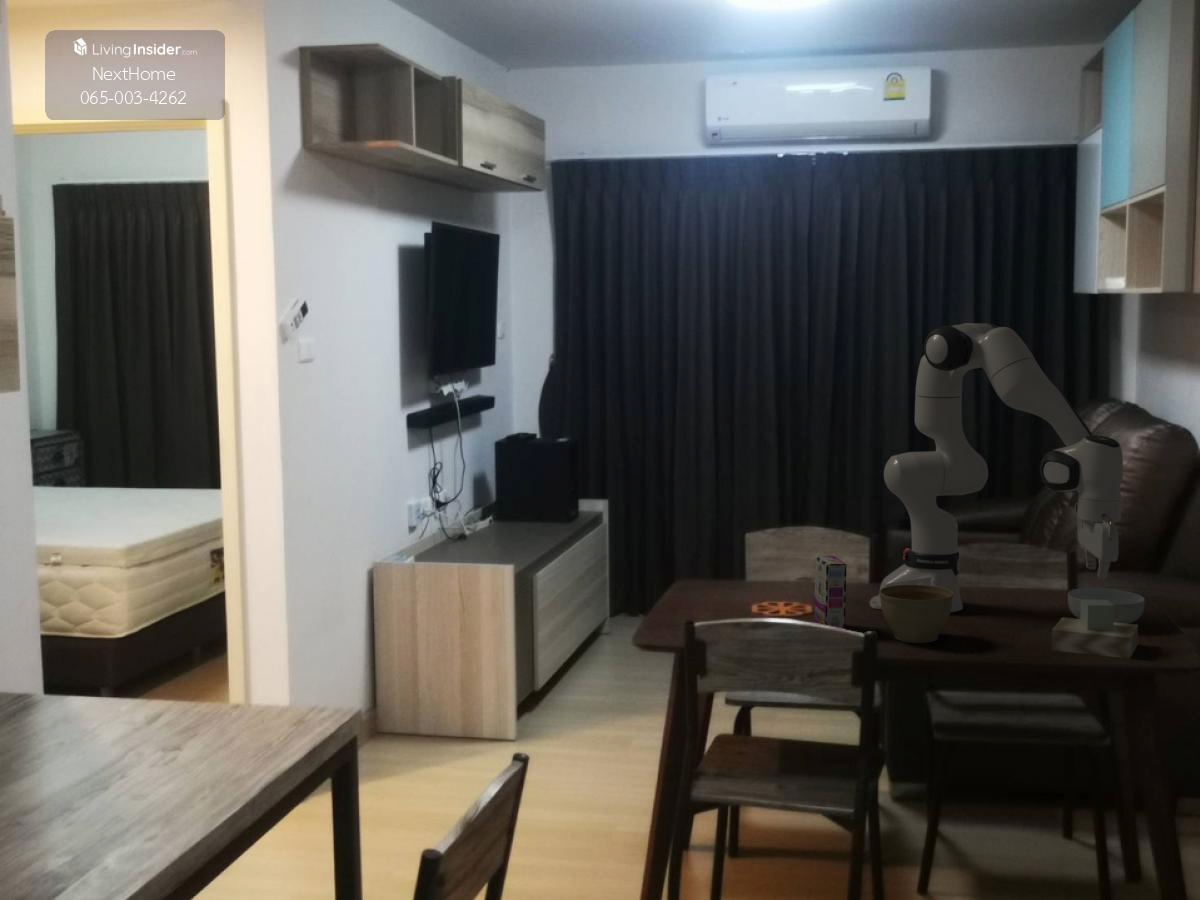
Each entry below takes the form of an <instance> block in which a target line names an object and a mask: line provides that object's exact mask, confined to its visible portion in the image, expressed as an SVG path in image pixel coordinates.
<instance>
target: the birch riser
mask: <svg viewBox="0 0 1200 900" xmlns="http://www.w3.org/2000/svg"><path fill="white" fill-rule="evenodd" d="M1138 631H1139V624H1134V623H1129V624H1126V623H1116V622H1114V627H1113V630H1087V629H1086V628H1084V627H1083V626H1082V625H1081V624H1080V619H1079V618H1073V617H1065V616H1064V617H1063V616H1062V617H1061V618H1060V620H1059V621H1057V623H1056V625H1054V627H1053V628H1052V629H1051V651H1056V652H1064V653H1073V654H1082V655H1091V656H1100V657H1108V658H1109V657H1110V658H1118V659H1119V658H1120V659H1127V660H1131V658H1132V656H1133V654H1134V652H1135V651H1136V648H1137V647H1138V639H1139V637H1138V636H1139V633H1138Z"/></svg>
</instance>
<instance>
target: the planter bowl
mask: <svg viewBox="0 0 1200 900" xmlns="http://www.w3.org/2000/svg"><path fill="white" fill-rule="evenodd" d="M879 591H880V597H881V607H882V609H881V612H882V615H883V617H884V620H885V621H886V623H887V625H888V627H889V628H890V630H892V633H893V636H894V638H895V639H896V640H898V641H899V642H904V643H909V644H927V643H934V642H935V641H937V640H938V638H939V634H940V632H942V630H943V629H944V628H945V626H946V624H947V622H948V620H949V617H950V615H951V613H952V612H951V607H952V599H953V592H952V591H951V590H948V589H946V588H942V587H937V586H930V585H894V586H888V587H884V588H882V589H881V590H880V589H879Z"/></svg>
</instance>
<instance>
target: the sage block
mask: <svg viewBox="0 0 1200 900" xmlns="http://www.w3.org/2000/svg"><path fill="white" fill-rule="evenodd" d="M1080 624H1081V625H1082V626H1083V627H1084V628H1086V629H1087V630H1113V627H1114V605H1113V604H1112V603H1110V602H1109V601H1108V600H1081V613H1080Z"/></svg>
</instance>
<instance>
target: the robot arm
mask: <svg viewBox="0 0 1200 900" xmlns="http://www.w3.org/2000/svg"><path fill="white" fill-rule="evenodd" d="M924 340H925V341H924V344H923V353H924V355H922V357H921V358H920V361H919V365H918V370H917V373H916V374H917V376H916V382H915V383H916V384H915V395H914V396H915V400H914V426H915V427H916V429H917V430H918V431H919V432H920V433H921V434H923V435H925V436H927V437H928V438H930V439H933V440H934V444H935V450H933V451H909V452H904V453H900V454H899V453H898V454H895V455H892V456H890V458H889V459H888V460H887V462H886V463H885V466H884V469H883V479H884V483H885V485H886V487H887V489H888V490H889V491H890V492H891V493H892V494H894V495H895V496H896V497H897V498H898V499H899V500H900V501H901V502H902V503H903V505H904V507H905V508H906V511H907V514H908V516H909V519H910V530H911V531H910V533H911V548H909V547H908V548H907V547H906V548H905V549H904V550H903V552H902V553H903V554H902V563H903V564H902V565H900V566H899V567H897V568H896V569H895V570H894V571H892V572H891V573H889V574H888V575H886V576H885V577H884V578H883V579H882V581H881V584H880V588H879V593H878V594H877V595H874V596H873V597H871V599H870V600H869V601H870V602H869V606H870V607H871V608H872V609H877V610H882V607H881V597H880V590H881V589H882V588H884V587H888V586H894V585H930V586H937V587H942V588H946V589H948V590H951V591H952V592H953V599H952V607H951V612H950V613H954V612H959V611H962V610H963V608H964V605H963V602H962V598H961V593H960V586H959V572H960V561H961V560H960V559H961V558H960V552H959V550H958V540H959V539H958V538H959V537H958V535H959V534H958V533H959V532H958V531H959V530H958V529H959V528H958V527H959V524H958V521H957V519H956V518H955V516H954V515H952V514H951V513H950V512H948V511H946V510H944V509H942V508H940V507H939V506H938V504H937V497H938V496H964V495H968V494H972V493H976V492H980V491H981V490H983V488H984V487H985V485H986V483H987V481H988V478H989V468H988V463H987V462H986V460H985V459H984V457H983V456H982V455H981V454H980V453H978V452H977V451H976V450H975V449H974V448H973V447H972V446H971V445H970V443H969V442H968V440H967V437H966V436H965V435H966V434H965V433H964V428H963V412H962V409H963V407H962V406H963V405H962V401H963V380H964V377H965V374H967V372H968V371H971V370H972V371H974V372H977V371H980V370H984V372H985V374H986V376H987V378H988V380H989V382H990V384H991V386H992V387H993V390H994V391H995V393H996V394H997V396H998V397H999V398H1000V400H1001V401H1002V402H1003V404H1005V405H1006V406H1008V407H1010V408H1011V409H1014V410H1018V411H1022V412H1025V413H1029V414H1032V415H1035V416H1037V417H1039V418H1042V419H1043V420H1044V421H1046V422H1047V423H1049V425H1051V427H1052V428H1053V430H1055V432H1056V435H1058V437H1059V438H1060V439H1061V441H1062V443H1063V444H1064V445H1065V446H1063V447H1059V448H1056V449H1053V450H1049V451H1048V452H1047V453H1046V452H1045V454H1044V456H1042V459H1041V461H1040V465H1039V474H1040V477H1041V480H1042V482H1043V484H1044V485H1045V486H1046V487H1047V488H1048V489H1049V490H1051V491H1055V492H1061V493H1063V492H1065V493H1066V492H1071V491H1072V492H1074V491H1077V493H1078V494H1077V495H1078V496H1077V502H1075V504H1074V512H1075V514H1077V515H1076V523H1077V524H1076V528H1077V539H1078V544H1079V545H1080V546H1082V547H1083V548H1084V555H1085V561H1086V563H1085V564H1086V565H1085V566H1086V569H1088V570H1090V571H1091V570H1096V569H1097V561H1096V559H1097V560H1098V569H1097V571H1096V572H1097V574H1096V576H1097V578H1099V579H1100V580H1107V579H1108V577H1109V576H1108V573H1109V569H1110V566H1111V562H1113V563H1115V562H1117V561H1118V559H1119V542H1120V541H1119V540H1120V539H1119V530H1118V526H1116V525H1115V522H1120V521H1121V520H1122V519H1121V518H1122V501H1123V499H1122V498H1123V497H1122V493H1121V485H1122V482H1123V477H1124V475H1123V474H1124V473H1123V472H1124V459H1123V457H1124V456H1123V449H1122V447H1121V444H1120V443H1119V441H1117V440H1116V439H1115V438H1112V437H1109V436H1104V435H1096V434H1093V433H1092V431H1090V429H1089V428H1088V426H1087V424H1086V423H1085V422H1084V419H1082V418H1081V416H1080V415H1079V413H1078V412H1077V410H1076V409H1075V408H1074V407H1073V405H1072V403H1071V402H1070V400H1069V399H1068V398H1067V397H1066V396H1065V395H1064V394H1063V393H1062V391H1061V390H1060V389H1059V388H1057V386H1055V384H1053V382H1052V381H1051V380H1050V379H1049V378H1048V376H1047V375H1046V374H1045V373H1044V371H1043V370H1042V369H1041V367H1040V365H1039V364H1038V362H1037V360H1036V358H1035V357H1034V355H1033V353H1032V352H1031V351H1030V349H1029V347H1028V346H1027V345H1026V343H1025V342H1024V340H1023V339H1022V338H1021V336H1019V334H1017V332H1016V331H1015V330H1014V329H1012V328H1010V327H1007V326H998V325H996V324H993V323H988V322H982V323H978V322H977V323H976V322H974V323H973V322H964V323H961V324H953V325H943V326H939V327H937V328H935V329H934V330H932V331H930V332H929V333H928V335H927V336H926V338H925V339H924Z"/></svg>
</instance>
